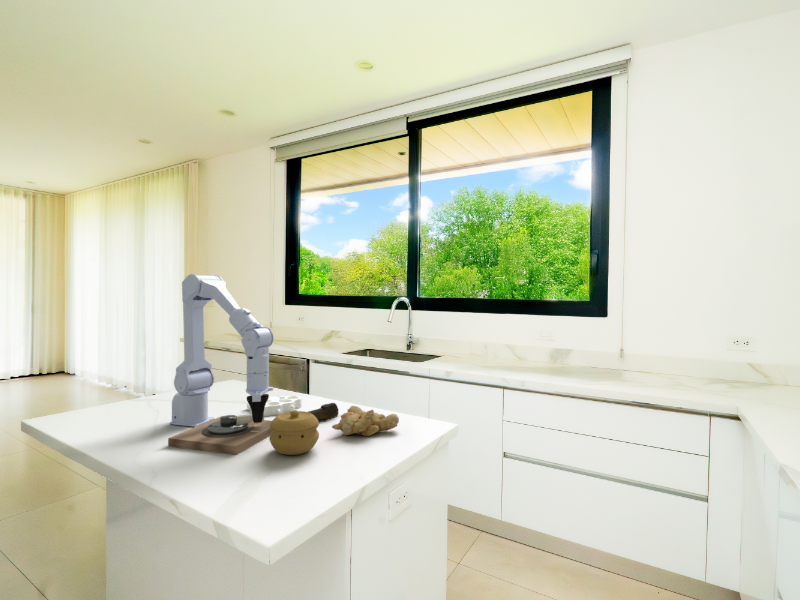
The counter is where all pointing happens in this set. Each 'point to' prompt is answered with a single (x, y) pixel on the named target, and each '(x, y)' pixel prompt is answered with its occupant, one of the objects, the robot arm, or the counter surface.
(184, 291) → the robot arm
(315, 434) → the pot
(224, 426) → the dial
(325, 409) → the brown rough bar
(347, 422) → the ginger root
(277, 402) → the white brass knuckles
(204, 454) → the counter surface
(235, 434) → the dial board
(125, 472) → the counter surface
